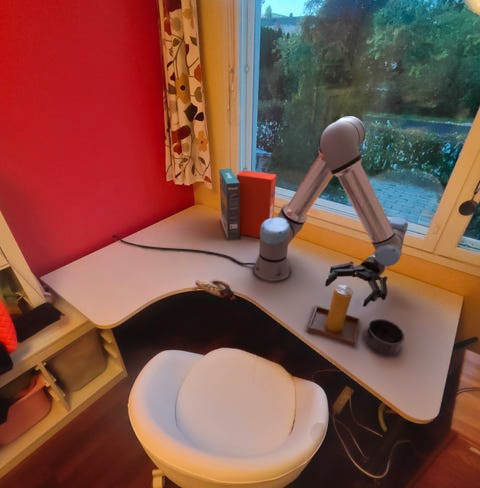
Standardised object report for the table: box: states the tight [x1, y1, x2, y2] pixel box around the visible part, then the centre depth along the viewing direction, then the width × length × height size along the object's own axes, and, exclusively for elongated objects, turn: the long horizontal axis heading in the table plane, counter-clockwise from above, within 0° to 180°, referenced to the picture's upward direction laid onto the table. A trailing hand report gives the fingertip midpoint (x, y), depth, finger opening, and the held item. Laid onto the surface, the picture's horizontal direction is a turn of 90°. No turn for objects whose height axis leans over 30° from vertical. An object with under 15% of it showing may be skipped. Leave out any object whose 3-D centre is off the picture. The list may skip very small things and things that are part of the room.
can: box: [326, 284, 354, 332], centre depth 94 cm, size 6×6×16 cm
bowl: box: [364, 318, 405, 357], centre depth 92 cm, size 10×10×6 cm
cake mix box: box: [218, 168, 240, 240], centre depth 149 cm, size 22×6×30 cm, turn 12°
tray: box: [307, 305, 360, 348], centre depth 98 cm, size 15×12×2 cm
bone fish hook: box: [195, 279, 236, 301], centre depth 113 cm, size 9×5×18 cm
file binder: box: [236, 169, 277, 239], centre depth 145 cm, size 8×17×32 cm, turn 68°
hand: (344, 292), depth 93 cm, fingers open, 13 cm apart
